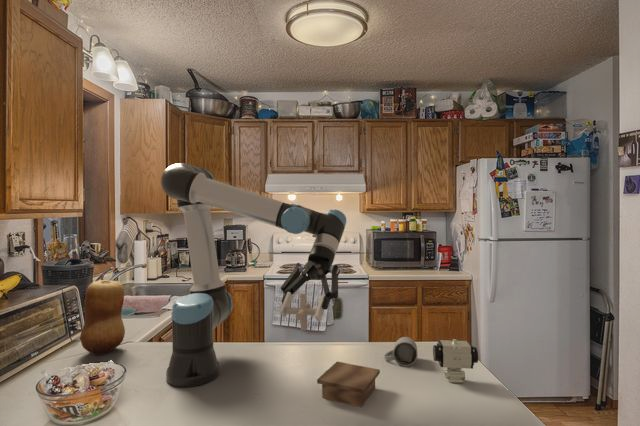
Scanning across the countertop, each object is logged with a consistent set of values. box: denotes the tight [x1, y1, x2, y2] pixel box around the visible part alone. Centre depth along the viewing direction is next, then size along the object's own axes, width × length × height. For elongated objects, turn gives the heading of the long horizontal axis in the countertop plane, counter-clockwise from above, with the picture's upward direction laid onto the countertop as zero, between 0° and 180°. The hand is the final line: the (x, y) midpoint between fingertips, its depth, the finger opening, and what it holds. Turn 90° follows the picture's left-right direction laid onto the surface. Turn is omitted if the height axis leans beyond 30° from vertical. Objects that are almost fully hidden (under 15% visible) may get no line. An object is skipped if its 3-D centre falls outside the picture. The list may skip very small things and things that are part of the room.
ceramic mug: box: [383, 336, 418, 367], centre depth 123 cm, size 11×8×8 cm
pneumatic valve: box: [432, 338, 479, 384], centre depth 108 cm, size 6×12×12 cm, turn 83°
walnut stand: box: [316, 361, 381, 408], centre depth 102 cm, size 13×13×5 cm
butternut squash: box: [79, 279, 126, 356], centre depth 131 cm, size 14×13×25 cm
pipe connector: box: [285, 292, 317, 332], centre depth 104 cm, size 10×10×10 cm
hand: (299, 316), depth 102 cm, fingers closed on pipe connector, 10 cm apart
